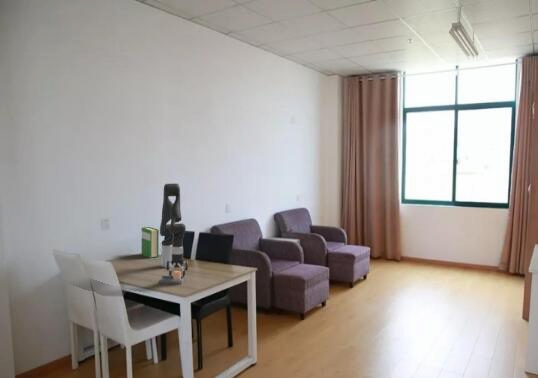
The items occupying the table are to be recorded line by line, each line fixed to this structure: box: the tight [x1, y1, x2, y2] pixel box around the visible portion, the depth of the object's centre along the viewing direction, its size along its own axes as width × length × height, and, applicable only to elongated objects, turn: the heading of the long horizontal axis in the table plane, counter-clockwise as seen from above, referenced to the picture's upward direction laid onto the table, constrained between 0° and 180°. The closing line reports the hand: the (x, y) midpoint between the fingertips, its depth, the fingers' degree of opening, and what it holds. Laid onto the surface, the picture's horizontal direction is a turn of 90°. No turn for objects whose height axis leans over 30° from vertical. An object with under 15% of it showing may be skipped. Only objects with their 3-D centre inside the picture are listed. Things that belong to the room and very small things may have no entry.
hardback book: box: [141, 226, 160, 259], centre depth 343 cm, size 18×7×24 cm, turn 42°
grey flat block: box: [158, 275, 185, 285], centre depth 269 cm, size 8×15×3 cm, turn 90°
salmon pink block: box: [172, 270, 182, 280], centre depth 269 cm, size 4×4×7 cm
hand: (177, 276), depth 269 cm, fingers open, 8 cm apart
